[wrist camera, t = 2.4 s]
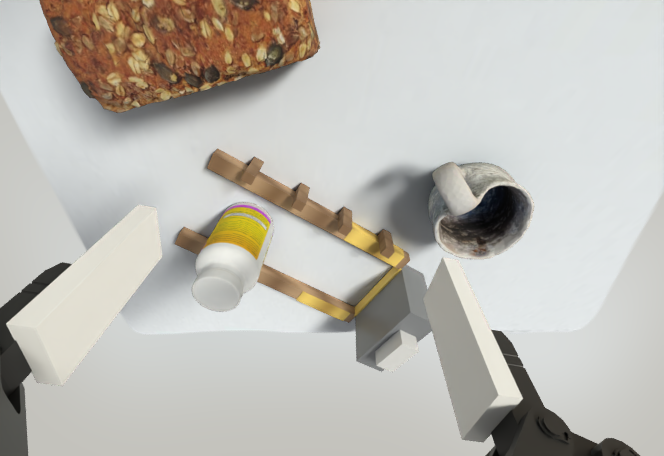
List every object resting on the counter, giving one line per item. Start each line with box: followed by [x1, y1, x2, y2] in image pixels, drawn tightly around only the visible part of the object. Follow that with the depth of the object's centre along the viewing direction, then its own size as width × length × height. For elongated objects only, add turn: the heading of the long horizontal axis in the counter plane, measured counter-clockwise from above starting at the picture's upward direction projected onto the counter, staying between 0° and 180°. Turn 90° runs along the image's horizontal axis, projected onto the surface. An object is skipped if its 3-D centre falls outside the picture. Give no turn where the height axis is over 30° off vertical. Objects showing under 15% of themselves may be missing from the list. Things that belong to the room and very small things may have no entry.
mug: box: [428, 162, 534, 259], centre depth 34 cm, size 10×12×10 cm
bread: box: [40, 0, 320, 113], centre depth 26 cm, size 19×11×10 cm, turn 103°
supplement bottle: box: [192, 202, 274, 312], centre depth 37 cm, size 7×7×13 cm
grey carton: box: [354, 265, 432, 372], centre depth 43 cm, size 4×11×11 cm, turn 148°
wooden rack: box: [175, 149, 410, 323], centre depth 42 cm, size 27×16×4 cm, turn 58°
